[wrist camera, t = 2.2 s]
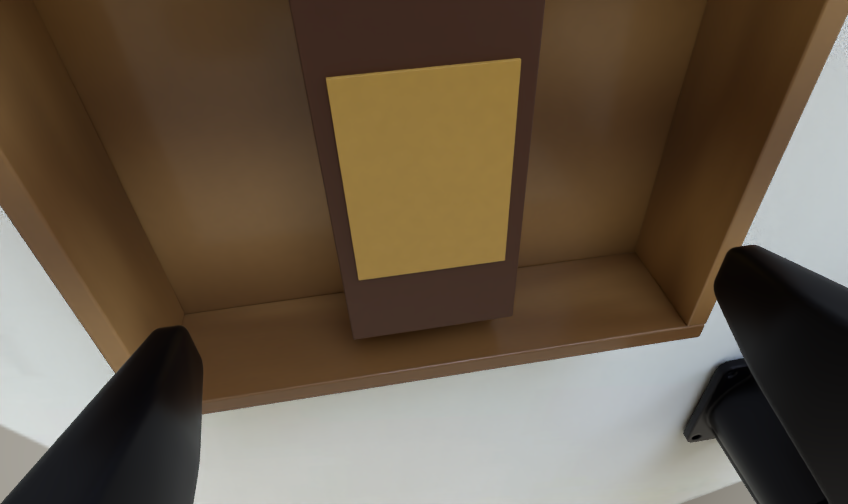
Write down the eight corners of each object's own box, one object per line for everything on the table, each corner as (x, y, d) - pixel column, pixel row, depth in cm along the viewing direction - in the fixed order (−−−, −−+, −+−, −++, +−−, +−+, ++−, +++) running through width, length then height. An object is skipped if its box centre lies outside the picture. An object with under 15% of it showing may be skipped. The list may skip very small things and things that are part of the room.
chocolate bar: (485, 243, 17) (514, 319, 15) (347, 261, 17) (353, 343, 14) (501, -113, 11) (558, -84, 9) (283, -98, 11) (275, -63, 8)
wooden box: (638, 250, 19) (700, 337, 16) (175, 314, 18) (148, 424, 15) (786, -248, 11) (975, -261, 8) (-86, -206, 9) (-282, -202, 6)
